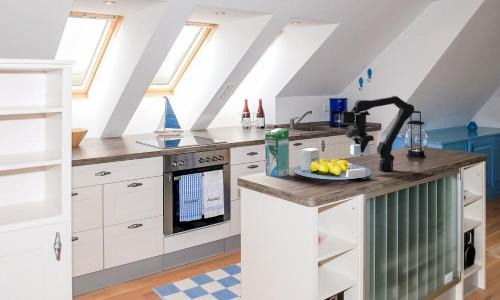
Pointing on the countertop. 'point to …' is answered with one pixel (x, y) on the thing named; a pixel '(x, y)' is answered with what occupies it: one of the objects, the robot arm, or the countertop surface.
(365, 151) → the pale blue block
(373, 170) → the countertop surface
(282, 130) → the milk carton
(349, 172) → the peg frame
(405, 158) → the countertop surface
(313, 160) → the supplement box
